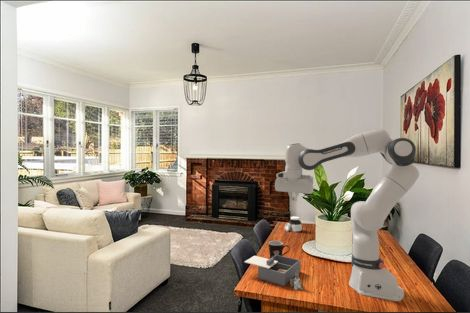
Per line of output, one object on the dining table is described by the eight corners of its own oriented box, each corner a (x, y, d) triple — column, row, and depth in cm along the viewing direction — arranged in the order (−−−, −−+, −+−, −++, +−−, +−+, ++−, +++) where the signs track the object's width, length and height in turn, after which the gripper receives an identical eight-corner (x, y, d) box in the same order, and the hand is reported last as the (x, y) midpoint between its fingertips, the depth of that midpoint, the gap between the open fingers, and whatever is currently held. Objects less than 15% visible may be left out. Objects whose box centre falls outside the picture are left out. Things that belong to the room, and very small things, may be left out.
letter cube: (287, 278, 135) (287, 270, 135) (284, 281, 131) (284, 273, 131) (280, 276, 137) (280, 268, 137) (276, 279, 134) (276, 271, 134)
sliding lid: (278, 262, 141) (278, 257, 141) (268, 268, 133) (268, 263, 133) (254, 256, 149) (254, 251, 149) (244, 262, 141) (244, 257, 141)
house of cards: (282, 280, 135) (282, 265, 135) (300, 281, 134) (300, 266, 134) (283, 289, 126) (283, 272, 126) (302, 291, 125) (302, 274, 125)
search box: (300, 271, 145) (300, 260, 145) (284, 286, 128) (284, 273, 128) (276, 265, 153) (276, 254, 153) (258, 278, 136) (258, 266, 136)
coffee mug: (266, 261, 158) (266, 244, 158) (271, 256, 166) (271, 239, 166) (285, 265, 153) (285, 247, 153) (290, 260, 161) (290, 242, 161)
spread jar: (303, 232, 217) (303, 218, 217) (292, 235, 211) (292, 219, 211) (292, 229, 227) (292, 215, 227) (282, 231, 221) (282, 216, 221)
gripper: (315, 175, 141) (315, 202, 141) (278, 173, 153) (278, 198, 153) (311, 175, 136) (311, 203, 136) (273, 174, 147) (273, 199, 148)
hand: (293, 200), depth 144 cm, fingers closed
